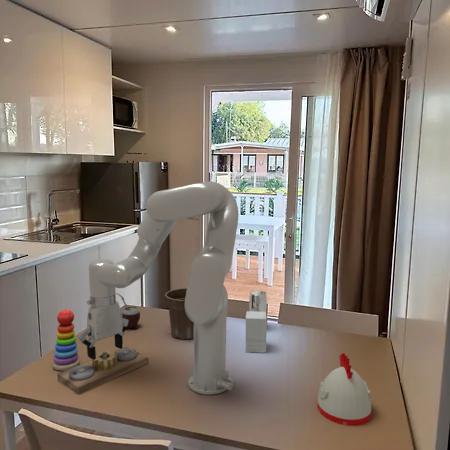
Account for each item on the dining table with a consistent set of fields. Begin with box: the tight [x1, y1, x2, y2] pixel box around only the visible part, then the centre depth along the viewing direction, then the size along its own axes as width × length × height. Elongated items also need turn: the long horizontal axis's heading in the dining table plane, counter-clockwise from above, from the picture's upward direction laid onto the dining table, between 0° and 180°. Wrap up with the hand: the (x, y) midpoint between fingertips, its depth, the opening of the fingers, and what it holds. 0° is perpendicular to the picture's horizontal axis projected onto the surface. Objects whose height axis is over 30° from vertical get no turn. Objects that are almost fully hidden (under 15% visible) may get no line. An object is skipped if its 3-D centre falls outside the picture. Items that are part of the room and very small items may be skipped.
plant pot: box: [164, 287, 194, 340], centre depth 159 cm, size 16×16×16 cm
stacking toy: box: [52, 308, 80, 372], centre depth 132 cm, size 8×8×19 cm
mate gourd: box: [116, 292, 141, 331], centre depth 164 cm, size 8×8×15 cm
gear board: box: [57, 346, 149, 395], centre depth 129 cm, size 12×25×6 cm, turn 140°
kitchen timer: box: [316, 352, 372, 426], centre depth 110 cm, size 14×14×15 cm
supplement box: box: [244, 310, 268, 354], centre depth 147 cm, size 7×7×13 cm
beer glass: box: [248, 289, 268, 313], centre depth 164 cm, size 7×7×15 cm
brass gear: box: [91, 350, 117, 371], centre depth 129 cm, size 7×7×3 cm
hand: (105, 352), depth 129 cm, fingers open, 9 cm apart
